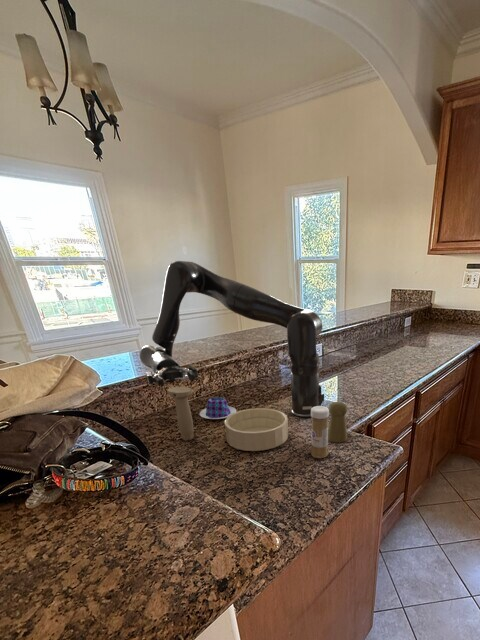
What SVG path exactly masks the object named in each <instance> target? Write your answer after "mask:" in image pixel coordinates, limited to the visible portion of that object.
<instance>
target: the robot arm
mask: <svg viewBox="0 0 480 640" xmlns="http://www.w3.org/2000/svg"><path fill="white" fill-rule="evenodd" d="M188 293H197V294H201V295H203V296H204V295H205V296H208V297H210V298H213V299H215V300H217V301H218V302H220V303H221V304H222V305H223V306H224V307H225V308H227V310H229V311H230V312H233V313H235V314H237V315H239V316H242V317H244V318H246V319H249V320H253V321H257V322H261V323H267V324H272V325H277V326H281V327H282V328H285V329H286V341H287V352H288V356H289V359H290V381H291V382H290V384H291V385H290V386H291V387H290V389H291V414H292V415H294V416H296V417H298V418H310V417H311V409H312V408H313V407H315V406H322V404H323V402H325V393H323V392H322V385H321V384H320V355H319V354H318V352H317V338H318V337H319V336H320V335H321V333H322V331H323V321H322V319H321V317H320V316H319V315H318V314H317V313H316V312H314V311H313V310H310V309H306V308H302V307H299V306H295V305H293V304H289V303H287V302H283V301H282V300H280V299H278V298H275V297H274V296H271V295H270V294H267V293H265V292H263V291H260V290H259V289H257V288H254V287H252V286H249V285H247V284H244V283H242V282H239V281H236V280H234V279H230V278H227V277H223V276H221V275H219V274H216V273H215V272H213V271H210V270H209V269H207V268H205V267H204V266H202V265H200V264H199V263H196V262H193V261H186V260H175V261H172V262H171V263H170V264H169V266H168V267H167V269H166V274H165V280H164V286H163V294H162V299H161V305H160V310H159V315H158V318H157V321H156V324H155V327H154V329H153V333H152V336H151V339H152V342H153V343H155V344H156V345H157V346H159V347H157V346H153V345H144V346H143V347H142V348H141V349H140V350H139V351H140V352H139V360H140V362H141V364H142V365H144V366H145V367H148V368H150V369H152V371H150V370H147V371H145V375H146V380H147V382H148V384H149V385H153V384H154V383H155V384H156V385H157V386H160V387H165V386H164V385H165V383H173V382H176V381H177V380H182V381H183V380H189V381H190V382H192V383H194V382H195V381H196V379H197V378H199V372H198V368H196V367H195V366H193V365H188V366H187V367H181V365H180V364H179V362H177V361H176V360H175V359H174V358H173V347H174V344H175V341H176V337H177V335H178V333H179V329H180V325H181V320H180V307H181V303H182V301H183V299H184V298H185V296H186V294H188ZM311 418H312V417H311Z"/></svg>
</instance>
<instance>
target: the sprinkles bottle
mask: <svg viewBox="0 0 480 640" xmlns="http://www.w3.org/2000/svg"><path fill="white" fill-rule="evenodd" d="M329 416H330V411H329V407H327V406H323V405H321V406H315V407H313V408H312V409H311V431H310V432H311V434H310V435H311V436H310V437H311V438H310V444H311V451H310V455H311V456H312V458H314V459H324V458H326V457H327V456H328V455H329V454H328V445H329V440H328V429H329Z"/></svg>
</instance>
